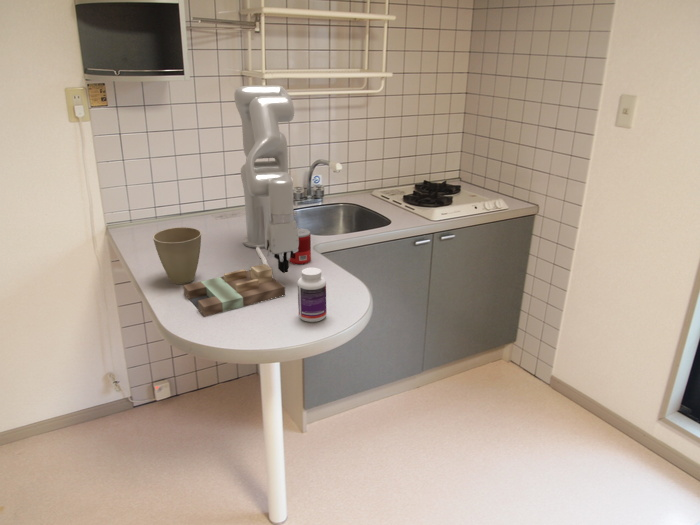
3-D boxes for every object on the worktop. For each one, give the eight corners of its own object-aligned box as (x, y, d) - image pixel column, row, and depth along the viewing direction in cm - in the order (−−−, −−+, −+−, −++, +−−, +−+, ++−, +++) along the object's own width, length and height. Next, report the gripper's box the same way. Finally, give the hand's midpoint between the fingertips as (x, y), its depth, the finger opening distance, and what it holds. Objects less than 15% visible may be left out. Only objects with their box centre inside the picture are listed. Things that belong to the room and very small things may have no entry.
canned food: (314, 259, 207) (314, 230, 203) (303, 266, 200) (303, 237, 196) (296, 255, 210) (295, 227, 206) (285, 263, 203) (284, 233, 199)
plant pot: (157, 274, 192) (151, 229, 186) (202, 268, 197) (198, 225, 191) (160, 292, 179) (154, 244, 173) (208, 285, 184) (204, 239, 178)
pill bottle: (331, 318, 164) (331, 272, 158) (308, 326, 160) (307, 279, 154) (316, 308, 170) (316, 263, 165) (293, 315, 166) (292, 269, 160)
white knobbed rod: (249, 249, 216) (249, 242, 215) (260, 248, 217) (259, 241, 216) (261, 278, 191) (261, 270, 190) (273, 276, 192) (273, 269, 191)
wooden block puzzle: (260, 276, 192) (259, 261, 190) (285, 295, 178) (284, 279, 176) (184, 294, 178) (182, 277, 176) (204, 316, 164) (203, 299, 162)
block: (265, 275, 185) (265, 263, 184) (272, 280, 181) (272, 268, 180) (251, 278, 182) (250, 266, 181) (258, 283, 179) (257, 272, 177)
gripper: (296, 210, 185) (298, 263, 192) (254, 218, 178) (257, 272, 184) (308, 216, 180) (309, 270, 186) (265, 224, 172) (267, 280, 179)
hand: (283, 271), depth 185 cm, fingers closed
